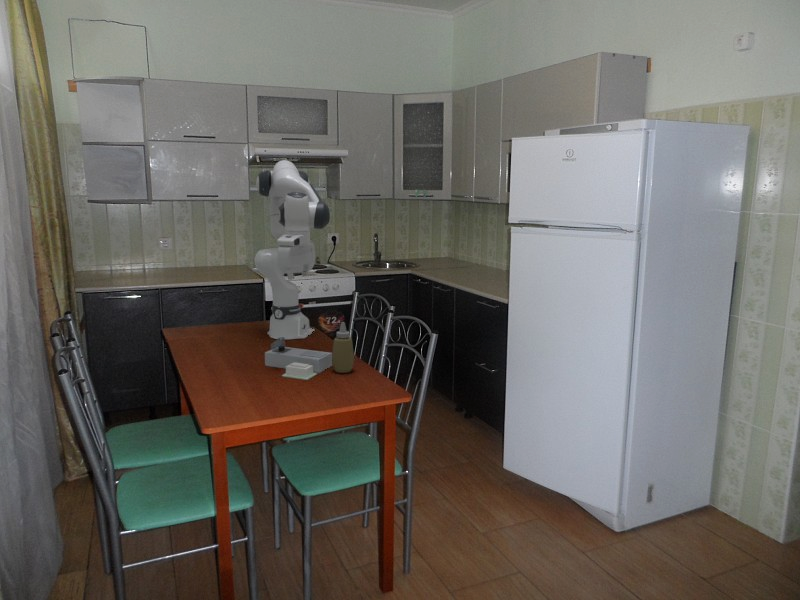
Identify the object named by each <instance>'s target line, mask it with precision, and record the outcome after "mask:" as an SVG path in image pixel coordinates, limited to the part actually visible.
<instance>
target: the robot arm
mask: <svg viewBox="0 0 800 600" xmlns="http://www.w3.org/2000/svg"><path fill="white" fill-rule="evenodd" d="M256 177H257V178H256V183H255V185H256V188H257V191H258V194H259V195H260V196H262V197H263V196H264V197H267V198H268V197H270V204H269V205H270V206H269V221H270V222H269V224H270V234H271V236H272V237H273V238H275V239H276V245H277V246H278V247H273V248H272V247H270V248H265V249H259V250H258V251H257V252H256V254H255V256H254V261H253V262H254V266H255V268H256V269H257V271H258V272H259V273H261V274H262V275H263V276H264V277H265V278H266V279H267V280H268V282H269V285H270V287H271V293H272V305H271V313H272V314H271V316H270V319H269V331H267V335H268V336H269V337H270V338H271V339H275V340H278V338H280V337H284V338H285V340H297V339H307V337H309V336H310V335H311V334H313V333H314V332H316V331H315V328H313V329H312V327H310V319H309V318H308V317H307V316H306V315H304V314H303V312H302V310H301V309H304V303H299V288H298V286H297V284H295V283H294V282H293V281H292V280H294V279H295V274H301V276H302V277H308V275H309V273H308V272H310V271H312V270H313V268H314V266H315V263H316V257H317V255H316V248H315V243H314V242H313V239H312V238H311V229H318V230H323V229H324V228H325V227H326V226H328V225H329V223H330V219H331V213H330V212H331V211H330V209H329V206H328V204H327V203H326V202H324V201H323V200H322V198H321V196H320V195H319V193H318V192H317V190H316V189H315V187H314V186H313V184H311V181H310V178H309V176H308V173H306V172H304V171H302V170H298V168H297V167H296V165H295V164H294V163H293V162H292V161H289V160H287V159H282V160H279V161H278V162H276V163H275V164H274V167H273V168H272V170H264V171H260V172H259V173H258V175H257V176H256ZM285 274H287V279H286V278H285ZM313 331H314V332H313ZM312 332H313V333H312ZM308 335H309V336H308Z"/></svg>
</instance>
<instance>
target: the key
mask: <svg viewBox="0 0 800 600" xmlns="http://www.w3.org/2000/svg"><path fill="white" fill-rule="evenodd" d="M285 344H286V339H285V338H284V337H280V338H278V339H275V341H274V342H272V343H270V350H272V349H276V348H277V347H278V350H285V347H286V345H285Z"/></svg>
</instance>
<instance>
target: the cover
mask: <svg viewBox="0 0 800 600" xmlns="http://www.w3.org/2000/svg"><path fill="white" fill-rule="evenodd" d="M285 373H286V375H291V376H298V377H305V378H306V377H308V376H310V375H312V374H313V373H314V372H313V365H309V364H304V363H296V362H294V363H292V364H290V365H288V366H286V369H285Z"/></svg>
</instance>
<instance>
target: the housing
mask: <svg viewBox="0 0 800 600" xmlns="http://www.w3.org/2000/svg"><path fill="white" fill-rule="evenodd" d="M332 354H333V352H329V351H322V350H321V351H320V350H312V349H305V348H303V349H302V348H296V347H291V346H290V347H288V346H285V350H278V347H277V348H276V349H270V350H267V351H265V352H264V366H266V367H270V368H273V367H274V368H277V369H278V368H280V369H285V370H286V366H288V365H290V364H292V363H294V362H296V363H304V364H309V365H313V373H317V374H321V373H322V372H324V371H325V369H326V370H328V369H329V368H331V367H333V364H332ZM330 366H331V367H330ZM327 368H328V369H327Z"/></svg>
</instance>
